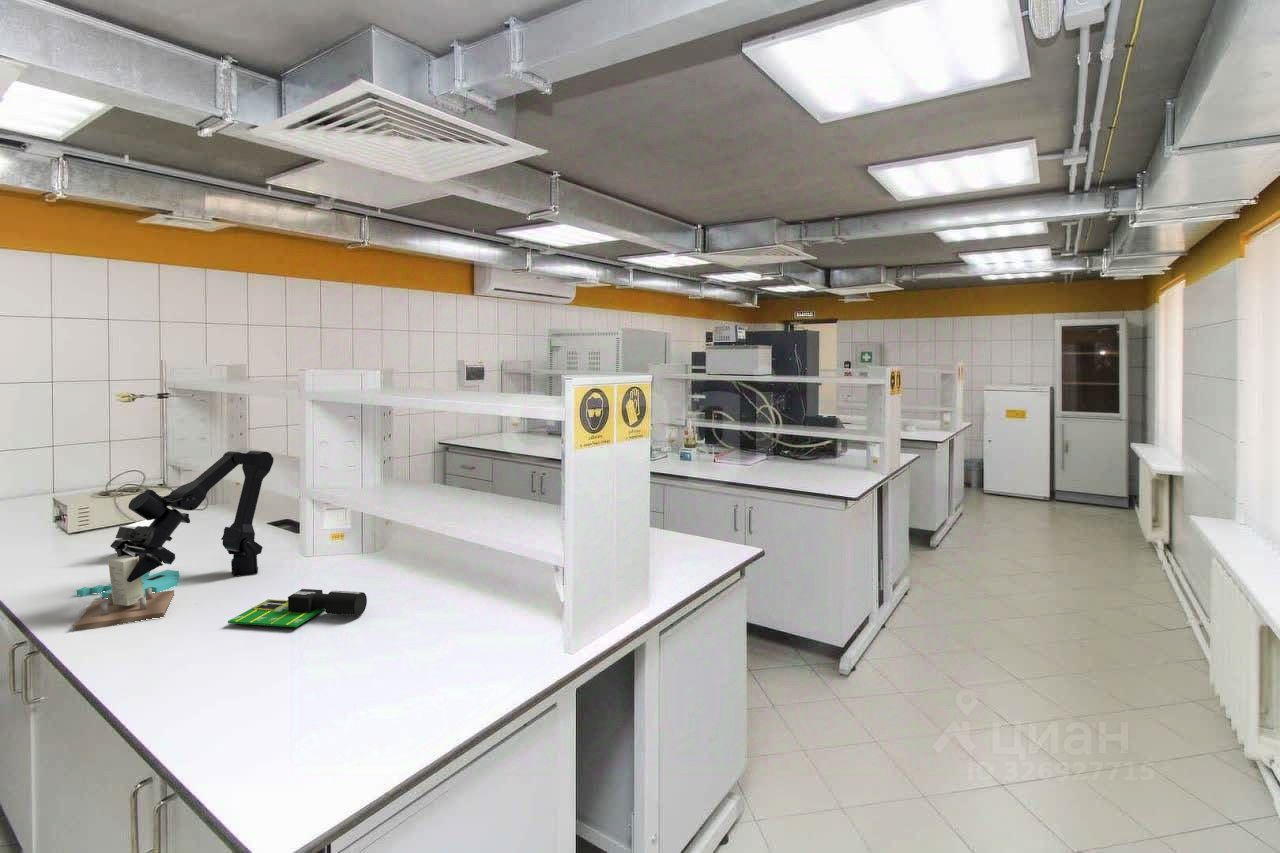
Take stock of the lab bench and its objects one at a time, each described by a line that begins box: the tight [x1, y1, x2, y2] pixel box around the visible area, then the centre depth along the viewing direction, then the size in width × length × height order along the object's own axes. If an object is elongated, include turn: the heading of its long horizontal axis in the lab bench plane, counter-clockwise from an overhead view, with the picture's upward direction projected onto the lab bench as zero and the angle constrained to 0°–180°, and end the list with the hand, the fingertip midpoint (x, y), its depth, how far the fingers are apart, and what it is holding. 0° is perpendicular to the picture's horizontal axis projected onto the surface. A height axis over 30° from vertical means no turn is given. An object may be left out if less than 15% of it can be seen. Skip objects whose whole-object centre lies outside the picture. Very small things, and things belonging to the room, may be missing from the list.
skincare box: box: [107, 555, 144, 606], centre depth 169 cm, size 6×4×12 cm
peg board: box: [73, 588, 175, 632], centre depth 170 cm, size 18×18×4 cm
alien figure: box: [76, 569, 180, 598], centre depth 188 cm, size 20×2×20 cm
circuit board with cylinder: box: [227, 588, 368, 628], centre depth 167 cm, size 30×7×15 cm
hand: (120, 579), depth 168 cm, fingers closed on skincare box, 6 cm apart
